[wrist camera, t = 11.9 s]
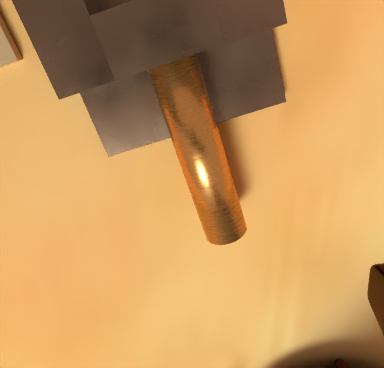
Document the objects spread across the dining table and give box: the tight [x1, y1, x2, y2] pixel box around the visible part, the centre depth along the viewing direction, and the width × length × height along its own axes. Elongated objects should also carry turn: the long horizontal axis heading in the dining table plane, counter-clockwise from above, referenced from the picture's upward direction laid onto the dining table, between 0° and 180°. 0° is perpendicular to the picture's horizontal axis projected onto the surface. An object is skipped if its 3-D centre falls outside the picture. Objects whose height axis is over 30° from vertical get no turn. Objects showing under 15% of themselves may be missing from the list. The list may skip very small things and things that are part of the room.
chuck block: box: [12, 0, 287, 245], centre depth 17 cm, size 20×10×4 cm, turn 17°
